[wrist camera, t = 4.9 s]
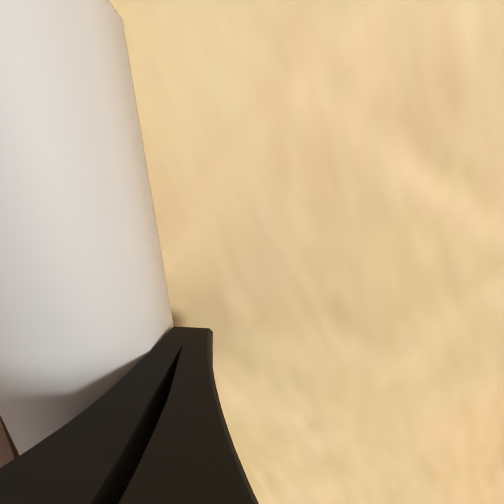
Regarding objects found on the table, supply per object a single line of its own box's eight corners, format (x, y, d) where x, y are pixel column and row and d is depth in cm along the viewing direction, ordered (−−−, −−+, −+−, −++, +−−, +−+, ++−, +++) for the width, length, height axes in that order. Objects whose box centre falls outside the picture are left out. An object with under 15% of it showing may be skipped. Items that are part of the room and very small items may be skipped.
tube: (-413, -187, 4) (74, 651, 13) (-304, -510, 2) (177, 732, 11) (11, -17, 9) (153, 515, 18) (163, -70, 7) (235, 555, 16)
